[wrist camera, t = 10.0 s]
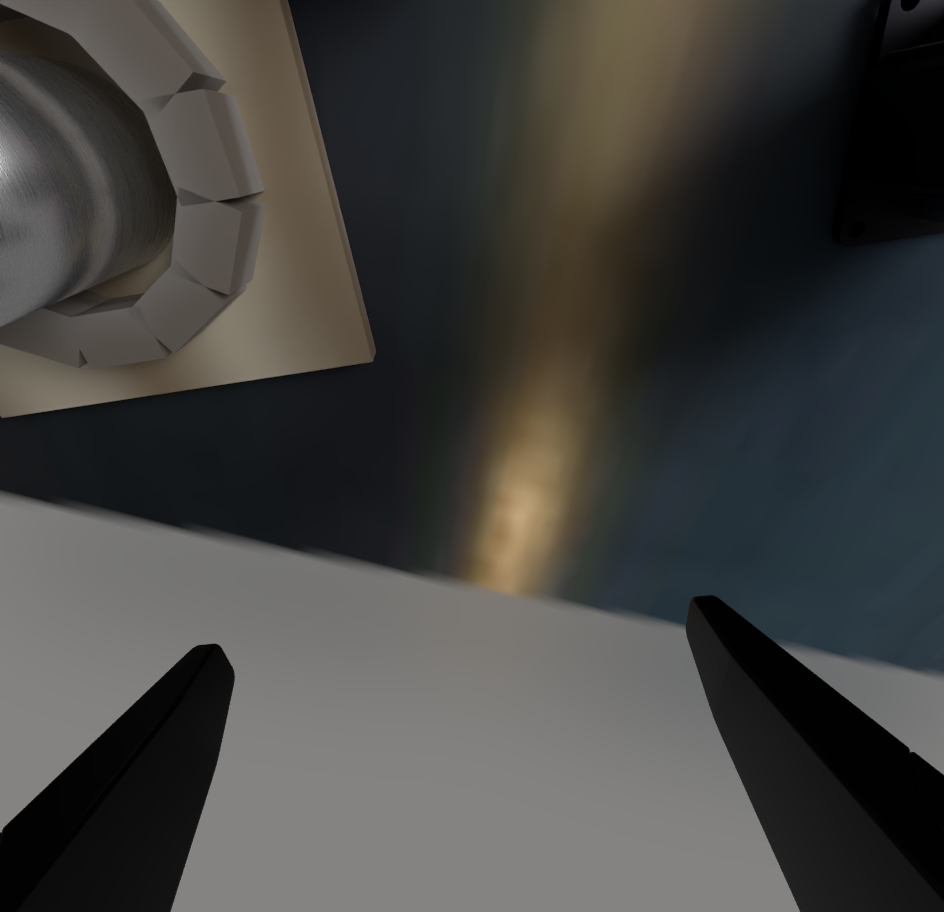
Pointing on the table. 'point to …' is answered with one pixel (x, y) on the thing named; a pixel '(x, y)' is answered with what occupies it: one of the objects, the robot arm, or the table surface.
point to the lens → (73, 184)
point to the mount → (197, 212)
